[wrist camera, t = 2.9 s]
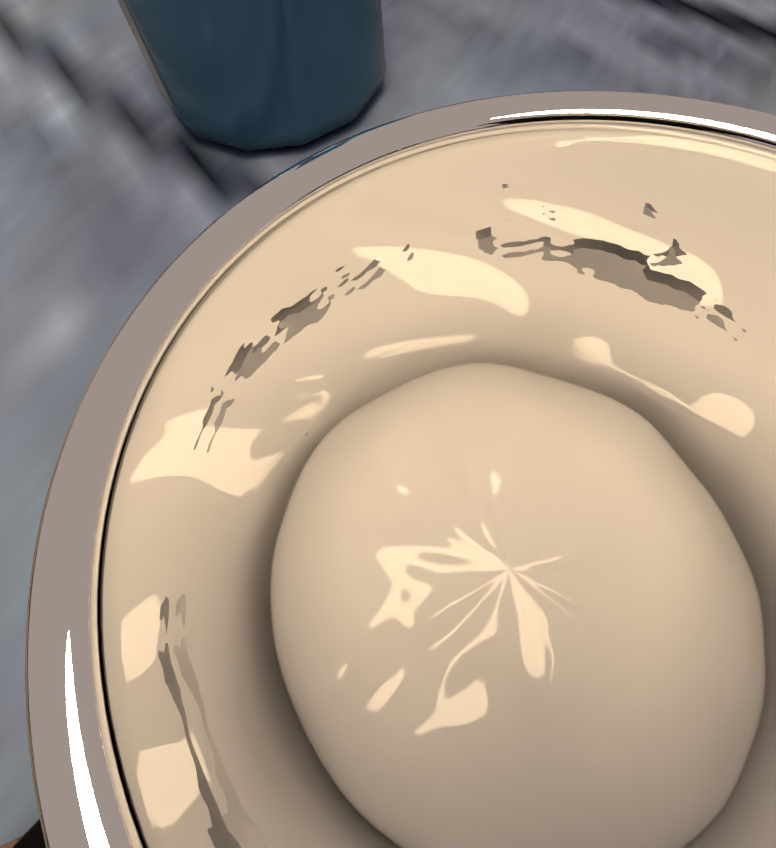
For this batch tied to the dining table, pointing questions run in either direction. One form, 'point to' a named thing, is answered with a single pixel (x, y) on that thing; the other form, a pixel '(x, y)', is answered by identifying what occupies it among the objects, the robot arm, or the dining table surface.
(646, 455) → the metal goblet
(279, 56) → the wine bottle
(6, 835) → the dining table surface
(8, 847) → the terracotta dish
